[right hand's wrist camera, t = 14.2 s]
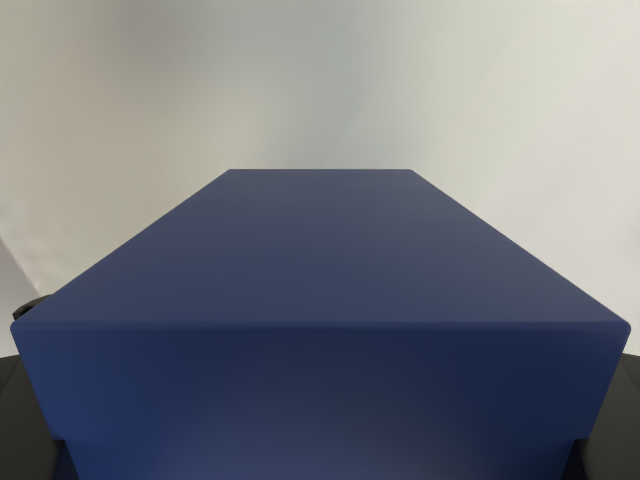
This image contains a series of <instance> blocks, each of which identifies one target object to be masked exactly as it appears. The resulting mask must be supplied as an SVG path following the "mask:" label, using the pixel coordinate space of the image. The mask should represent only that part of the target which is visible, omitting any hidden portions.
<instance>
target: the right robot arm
mask: <svg viewBox="0 0 640 480" xmlns="http://www.w3.org/2000/svg"><path fill="white" fill-rule="evenodd" d="M51 295H52V294H50V295H46V296H43V297H41V298H38V299H35V300H32V301H30V302H28V303H27V304H25V305H23V306H21V307H20V308H18V309H17V310H16V311H15V312H14V313H13V317H14V320H17V319H18V318H20V317H21V316H22V315H24V314H25V313H27V312H28V311H29V310H31V309H32V308H34V307H35V306H37V305H38V304H39V303H41V302H42V301H44V300H45V299H46V298H48V297H49V296H51ZM0 480H80V479H79V477H78V474H77V471H76V469H75V466H74V463H73V460H72V458H71V455H70V452H69V450H68V447H67V444H66V441H65V440H54V439H52V437H51V435H50V432H49V430H48V427H47V424H46V422H45V419H44V417H43V414H42V411H41V409H40V406H39V404H38V401H37V398H36V396H35V393H34V391H33V388H32V385H31V383H30V380H29V378H28V375H27V372H26V370H25V367H24V365H23V362H22V359H21V357H20V354H19V355H14V356H8V357H3V358H0ZM560 480H640V356H635V355H630V354H625V353H622V355H621V357H620V360H619V363H618V365H617V368H616V370H615V373H614V375H613V378H612V381H611V383H610V386H609V388H608V391H607V393H606V396H605V399H604V401H603V404H602V406H601V409H600V411H599V414H598V416H597V419H596V422H595V424H594V427H593V429H592V432H591V434H590V437H589V438H587V439H575V441H574V444H573V447H572V449H571V452H570V455H569V457H568V460H567V463H566V466H565V468H564V471H563V474H562V476H561V479H560Z"/></svg>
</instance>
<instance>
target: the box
mask: <svg viewBox="0 0 640 480" xmlns="http://www.w3.org/2000/svg"><path fill="white" fill-rule="evenodd" d="M10 331H11V333H12V336H13V339H14V341H15V344H16V346H17V349H18V352H19V354H20V357H21V359H22V362H23V365H24V367H25V370H26V372H27V375H28V378H29V380H30V383H31V385H32V388H33V391H34V393H35V396H36V398H37V401H38V404H39V406H40V409H41V411H42V414H43V417H44V419H45V422H46V424H47V427H48V430H49V432H50V435H51V437H52V439H54V440H65V441H66V444H67V447H68V450H69V452H70V455H71V458H72V460H73V463H74V466H75V469H76V471H77V474H78V477H79V479H80V480H560V479H561V476H562V474H563V471H564V468H565V466H566V463H567V460H568V457H569V455H570V452H571V449H572V447H573V444H574V441H575V439H587V438H589V437H590V434H591V432H592V429H593V427H594V424H595V422H596V419H597V416H598V414H599V411H600V409H601V406H602V404H603V401H604V399H605V396H606V393H607V391H608V388H609V386H610V383H611V381H612V378H613V375H614V373H615V370H616V368H617V365H618V363H619V360H620V357H621V355H622V352H623V350H624V347H625V345H626V342H627V339H628V337H629V334H630V332H631V326H630V324H629V323H628V322H627V321H625V320H624V319H622V318H621V317H620V316H618V315H617V314H615V313H614V312H612V311H611V310H610V309H608V308H607V307H605V306H604V305H602V304H601V303H600V302H598V301H597V300H595V299H594V298H593V297H591V296H590V295H588V294H587V293H585V292H584V291H583V290H581V289H580V288H578V287H577V286H576V285H574V284H573V283H571V282H570V281H568V280H567V279H566V278H564V277H563V276H561V275H560V274H559V273H557V272H556V271H554V270H553V269H551V268H550V267H549V266H547V265H546V264H544V263H543V262H541V261H540V260H539V259H537V258H536V257H534V256H533V255H532V254H530V253H529V252H527V251H526V250H524V249H523V248H522V247H520V246H519V245H517V244H516V243H515V242H513V241H512V240H510V239H509V238H507V237H506V236H505V235H503V234H502V233H500V232H499V231H498V230H496V229H495V228H493V227H492V226H490V225H489V224H488V223H486V222H485V221H483V220H482V219H480V218H479V217H478V216H476V215H475V214H473V213H472V212H471V211H469V210H468V209H466V208H465V207H463V206H462V205H461V204H459V203H458V202H456V201H455V200H454V199H452V198H451V197H449V196H448V195H446V194H445V193H444V192H442V191H441V190H439V189H438V188H437V187H435V186H434V185H432V184H431V183H429V182H428V181H427V180H425V179H424V178H422V177H421V176H419V175H418V174H417V173H415V172H414V171H412V170H410V169H229V170H228V171H226V172H225V173H223V174H222V175H220V176H219V177H218V178H216V179H215V180H213V181H212V182H211V183H209V184H208V185H206V186H205V187H204V188H202V189H201V190H199V191H198V192H196V193H195V194H194V195H192V196H191V197H189V198H188V199H187V200H185V201H184V202H182V203H181V204H179V205H178V206H177V207H175V208H174V209H172V210H171V211H170V212H168V213H167V214H165V215H164V216H162V217H161V218H160V219H158V220H157V221H155V222H154V223H153V224H151V225H150V226H148V227H147V228H145V229H144V230H143V231H141V232H140V233H138V234H137V235H136V236H134V237H133V238H131V239H130V240H129V241H127V242H126V243H124V244H123V245H121V246H120V247H119V248H117V249H116V250H114V251H113V252H112V253H110V254H109V255H107V256H106V257H104V258H103V259H102V260H100V261H99V262H97V263H96V264H95V265H93V266H92V267H90V268H89V269H87V270H86V271H85V272H83V273H82V274H80V275H79V276H78V277H76V278H75V279H73V280H72V281H70V282H69V283H68V284H66V285H65V286H63V287H62V288H61V289H59V290H58V291H56V292H55V293H54V294H52V295H51V296H49V297H48V298H46V299H45V300H44V301H42V302H41V303H39V304H38V305H37V306H35V307H34V308H32V309H31V310H29V311H28V312H27V313H25V314H24V315H22V316H21V317H20V318H18V319H17V320H15V321H14V322H13V323H12V324H11V326H10Z"/></svg>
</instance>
